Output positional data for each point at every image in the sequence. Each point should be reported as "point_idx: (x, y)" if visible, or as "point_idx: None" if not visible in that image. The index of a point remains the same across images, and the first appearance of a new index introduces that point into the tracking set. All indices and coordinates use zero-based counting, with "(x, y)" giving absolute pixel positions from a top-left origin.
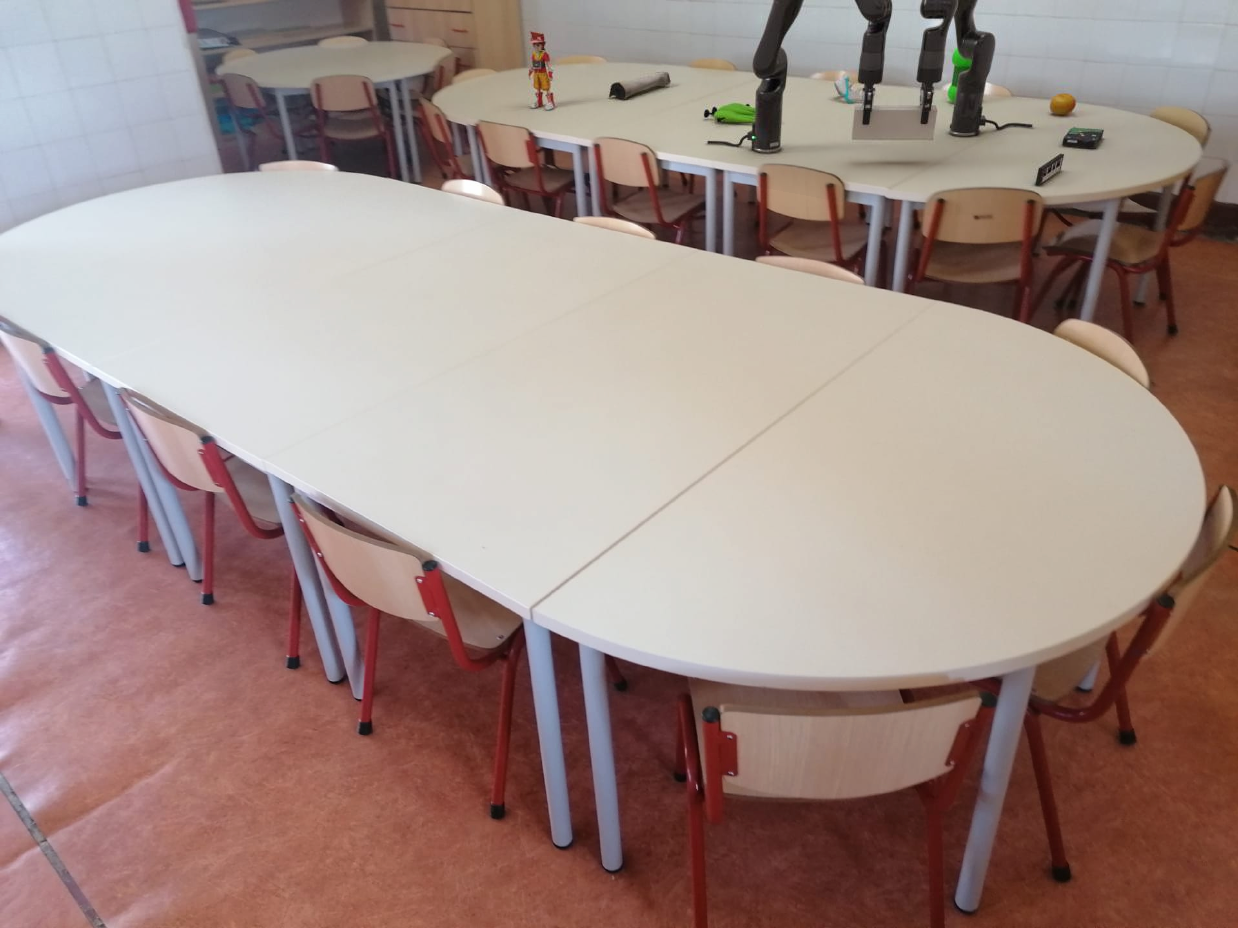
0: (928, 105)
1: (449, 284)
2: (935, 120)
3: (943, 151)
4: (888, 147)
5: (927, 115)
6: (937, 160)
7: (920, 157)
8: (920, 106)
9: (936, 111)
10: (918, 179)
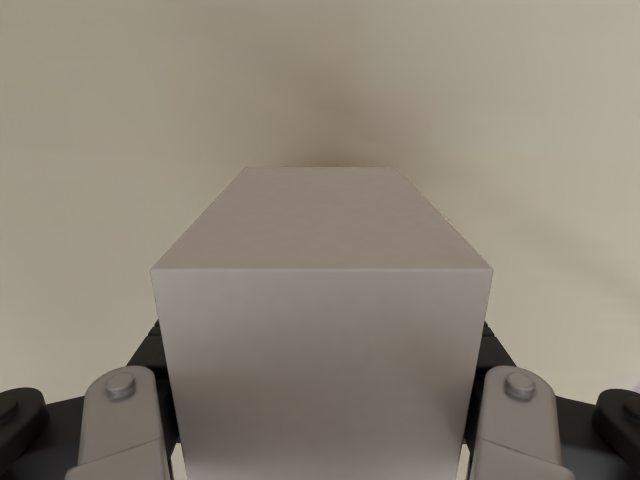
0: (175, 377)
1: None
2: (439, 219)
3: (68, 27)
4: (65, 313)
5: (507, 359)
6: (265, 83)
7: (216, 175)
8: (248, 470)
9: (485, 272)
10: (594, 209)
